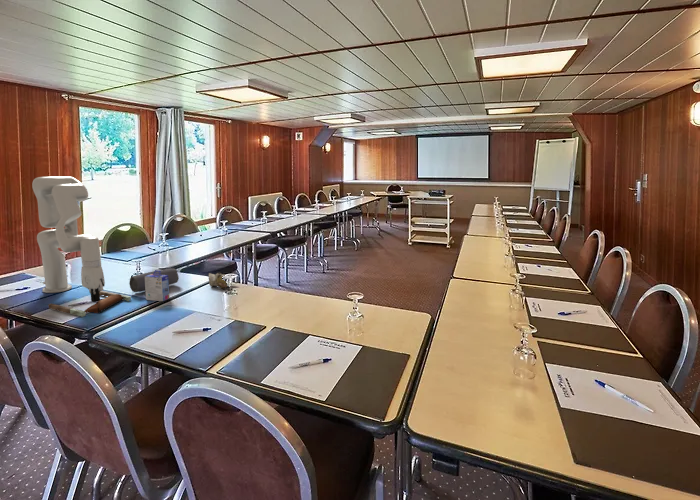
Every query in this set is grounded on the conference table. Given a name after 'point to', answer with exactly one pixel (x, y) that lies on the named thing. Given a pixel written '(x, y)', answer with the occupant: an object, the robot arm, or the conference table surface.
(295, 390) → the conference table surface
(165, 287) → the ink cartridge box
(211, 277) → the ceramic sculpture
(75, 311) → the beige rail frame
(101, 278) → the robot arm
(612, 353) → the conference table surface
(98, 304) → the brown bottle
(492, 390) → the conference table surface
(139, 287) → the bluetooth speaker
